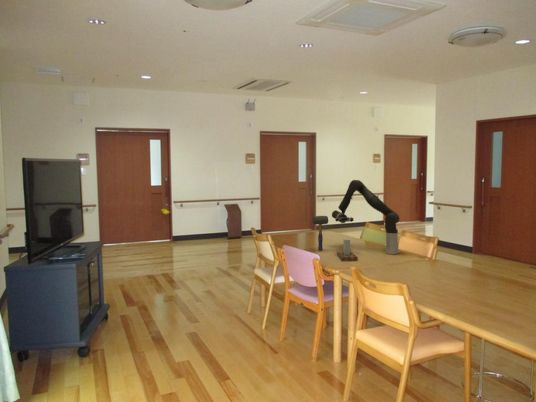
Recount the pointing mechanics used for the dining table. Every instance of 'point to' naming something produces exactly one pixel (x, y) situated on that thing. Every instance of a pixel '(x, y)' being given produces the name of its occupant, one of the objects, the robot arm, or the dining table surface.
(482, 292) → the dining table surface
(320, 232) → the rubber mallet
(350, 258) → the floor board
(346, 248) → the plank post
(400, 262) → the dining table surface
